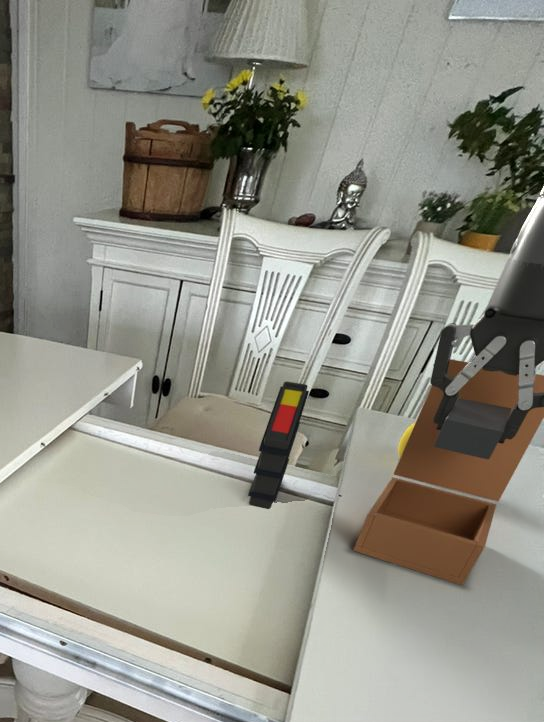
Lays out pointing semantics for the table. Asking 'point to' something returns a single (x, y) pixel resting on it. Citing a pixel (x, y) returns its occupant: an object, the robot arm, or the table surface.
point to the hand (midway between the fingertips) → (469, 434)
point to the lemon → (405, 439)
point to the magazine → (277, 444)
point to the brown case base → (426, 530)
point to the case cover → (462, 468)
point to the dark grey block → (473, 428)
